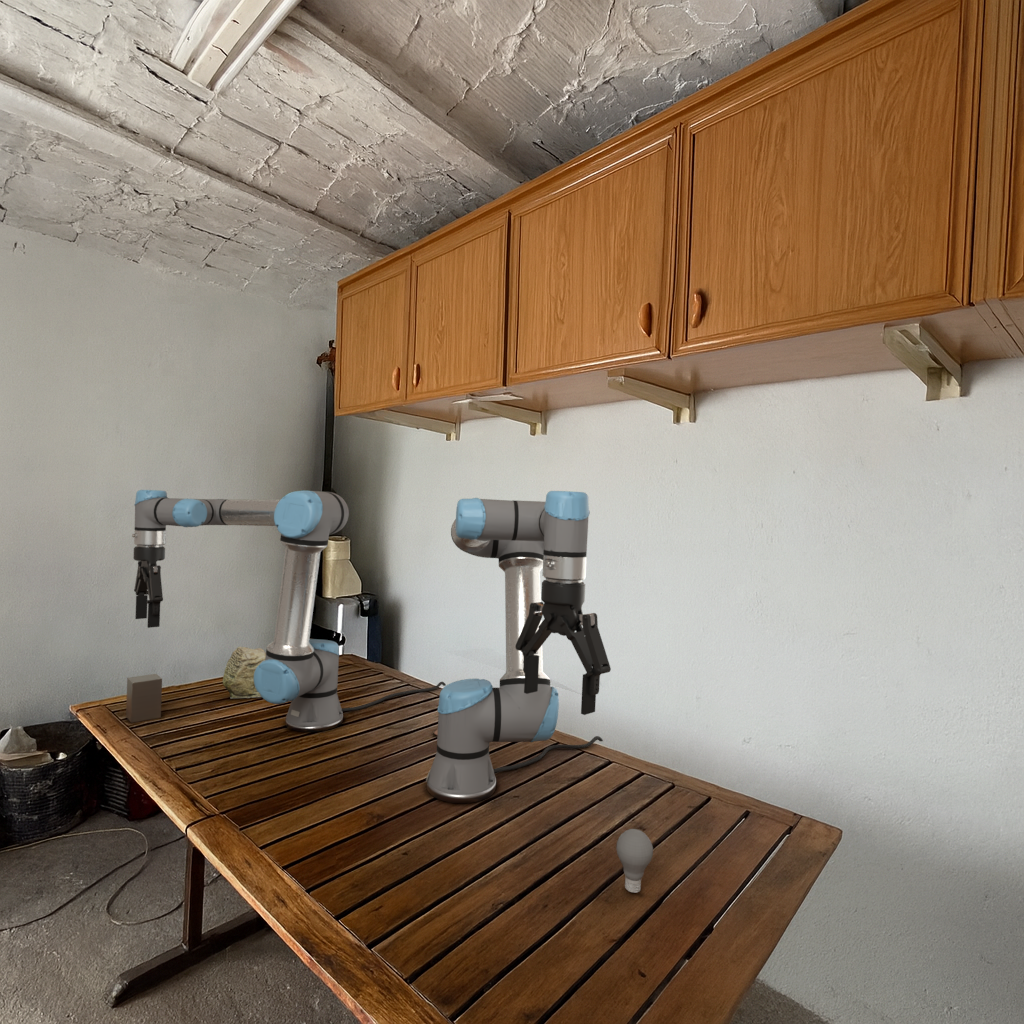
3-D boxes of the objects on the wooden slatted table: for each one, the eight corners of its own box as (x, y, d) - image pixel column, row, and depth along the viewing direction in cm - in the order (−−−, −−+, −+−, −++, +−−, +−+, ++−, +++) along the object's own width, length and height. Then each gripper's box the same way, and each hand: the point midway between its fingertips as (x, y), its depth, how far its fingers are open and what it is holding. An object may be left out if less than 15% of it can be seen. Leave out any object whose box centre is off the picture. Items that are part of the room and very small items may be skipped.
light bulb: (610, 879, 108) (613, 822, 108) (644, 879, 109) (647, 822, 109) (619, 902, 102) (622, 840, 102) (655, 901, 103) (658, 840, 103)
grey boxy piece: (125, 716, 175) (127, 677, 175) (155, 711, 180) (156, 673, 179) (130, 722, 170) (132, 682, 170) (160, 717, 175) (162, 678, 175)
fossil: (218, 695, 195) (220, 647, 195) (278, 685, 208) (279, 640, 207) (228, 703, 189) (230, 653, 188) (289, 692, 201) (290, 645, 201)
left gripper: (123, 542, 181) (121, 616, 181) (145, 550, 163) (142, 632, 163) (153, 542, 186) (150, 614, 186) (177, 549, 168) (174, 629, 168)
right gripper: (499, 572, 116) (494, 687, 117) (606, 591, 98) (600, 727, 98) (529, 571, 121) (524, 681, 122) (635, 588, 103) (629, 717, 103)
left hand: (147, 622), depth 175 cm, fingers open, 13 cm apart
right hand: (558, 702), depth 110 cm, fingers open, 13 cm apart
